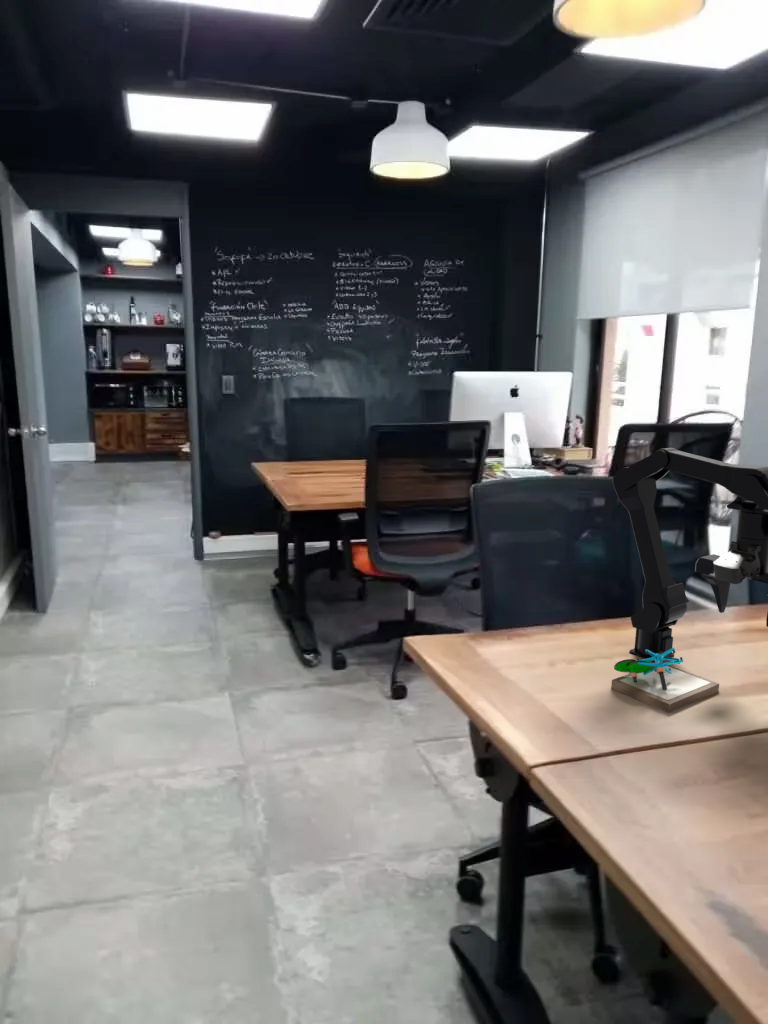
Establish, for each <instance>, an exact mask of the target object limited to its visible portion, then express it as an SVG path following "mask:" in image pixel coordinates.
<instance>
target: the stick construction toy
mask: <svg viewBox="0 0 768 1024" xmlns="http://www.w3.org/2000/svg"><path fill="white" fill-rule="evenodd" d="M671 652H672V653H674V654H675V653H676V649H675V647H672V648H671V649H670V650H668V651H666V652H664V653H663V652H662V651H661V652H660V653H661V654H660V655H659V653H656V654H654V653H653V652H651V651H649V650H648V649H646V654H647V655H648V654H650V655H651V656H652V657H651V658H647V659H645V658H643V659H639V658H638V659H633V658H629V659H622V660H620V661H618V662H616V663H615V664H614V666H613V669H614V670H615V671H617V672H620V673H628V674H630V673H631V675H632V678H633V681H634V682H637V673H642V672H643V674H644V675H646V674H648V673H650V672H652V671H654V670H655V672H657V674H659V676H660V680H661V685H662V689H663V691H666V690H667V686H666V682H665V677H664V673H665V671H666V672H668V673H669V674H671V673H672V672H671V669H670V668H669V669H667V668H666V667H665V666H668V665H671V666H673V665H676V664H678V665H680V664H681V663H684V659H683V656H681V657H679V658H678V657H675V658H674V657H670V658H669V657H664V656H666V655H667V654H669V653H671ZM654 660H655V662H653V661H654ZM663 661H668V662H663ZM662 662H663V663H662ZM651 666H653V667H652V668H651ZM650 668H651V669H650ZM645 671H646V672H645Z"/></svg>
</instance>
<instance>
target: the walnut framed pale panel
mask: <svg viewBox="0 0 768 1024" xmlns="http://www.w3.org/2000/svg"><path fill="white" fill-rule="evenodd" d="M662 663H664V662H662ZM652 667H653V666H651V668H652ZM665 667H666V668H667V669H669V668H670V669H671V672H672V673H671V674H669V673H668V672H666V671H665V673H664V677H665V682H666V686H667V690H666V691H663V689H662V685H661V680H660V676H659V674H657V672H655V670H654V671H652V672H650V673H648V674H646V675H644V674H643V672H642V673H637V682H634V681H633V678H632V675H631V673H628V674H624V675H621V676H619V677H616V678H614V679H613V678H612V679H611V686H610V687H611V689H612V690H615V691H617V692H619V693H622V694H624V695H627V696H629V697H631V698H632V699H636V700H638V701H640V702H642V703H644V704H647V705H649V706H652V707H654V708H657V709H659V710H662V711H664V712H666V713H668V714H669V713H670V714H671V713H672V712H674V711H677V710H679V709H680V708H683V707H685V706H688V705H691V704H692V703H695V702H697V701H700V700H701V699H704V698H707V697H708V696H711V695H713V694H716V693H717V692H719V688H720V683H718V682H715V681H713V680H710V679H708V678H705V677H702V676H700V675H697V674H695V673H692V672H689V671H687V670H684V669H682V668H679V667H677V666H673V665H668V666H665ZM651 668H650V669H651ZM645 672H646V671H645Z"/></svg>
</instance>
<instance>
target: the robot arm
mask: <svg viewBox="0 0 768 1024" xmlns="http://www.w3.org/2000/svg"><path fill="white" fill-rule="evenodd" d="M669 472H673V473H676V474H680V475H684V476H688V477H692V478H695V479H697V480H702V481H705V482H709V483H713V484H717V485H718V486H721V487H723V488H725V489H726V490H727V491H728V492H730V493H731V494H734V495H735V496H737V497H736V498H735V499H734V500H733V501H731V502H730V503H728V504H727V505H726V508H727V509H729V510H735V511H738V515H737V525H736V536H735V539H734V540H731V542H730V545H729V549H728V552H726V553H725V552H724V553H723V554H721V555H717V554H713V553H712V554H709V555H705V556H700V557H699V558H697V560H696V561H695V566H694V572H695V573H699V574H700V576H701V578H703V579H704V580H706V581H707V582H708V583H709V585H710V586H711V589H712V592H713V594H714V598H715V602H716V606H717V609H718V612H719V613H720V614H723V613H725V611H726V607H727V605H728V598H729V592H730V587H731V584H732V585H738V584H741V583H742V582H743V581H744V580H745V579H746V580H747V579H748V580H752V581H756V582H760V583H762V584H763V583H764V584H768V465H757V464H737V463H735V464H734V463H728V462H724V461H721V460H718V459H712V458H709V457H705V456H702V455H697V454H693V453H689V452H685V451H682V450H678V449H676V448H674V447H666V448H659V449H658V448H657V450H655V451H654V452H652V453H651V454H649V455H648V456H646V457H645V458H642V459H640V460H638V461H637V462H634V463H633V464H631V465H629V466H625V467H621V468H619V469H618V470H617V471H615V473H614V475H613V476H612V485H613V486H612V487H613V488H614V490H615V493H616V496H617V498H618V501H620V503H621V504H622V505H623V507H624V508H625V509H626V510H627V512H628V514H629V517H630V518H629V519H630V523H631V526H632V530H633V535H634V539H635V543H636V548H637V551H638V555H639V561H640V564H641V568H642V572H643V577H644V586H643V590H642V594H641V595H642V597H641V600H642V608H641V609H640V610H638V611H637V612H635V613H634V614H633V615H631V616H630V622H631V625H632V628H634V629H635V638H634V648H631V649H629V653H630V654H632V655H635V656H638V657H640V658H643V659H647V658H651V657H652V656H651V655H650V654H648V655H647V654H646V649H648V650H649V651H651V652H653V653H654V654H656V653H659V655H660V654H661V653H660V652H661V651H662V652H663V653H664V652H666V651H668V650H670V649H671V648H673V645H674V644H673V642H674V637H673V636H672V635H673V628H671V627H672V626H676V625H677V623H678V621H679V620H680V619H681V618H683V617H684V615H685V613H687V611H688V604H687V603H690V600H689V599H688V597H687V595H686V588H685V587H686V586H685V584H684V582H680V583H676V581H675V580H674V578H673V577H672V576H671V574H670V570H669V565H668V561H667V556H666V553H665V549H664V545H663V541H662V536H661V531H660V529H659V525H658V520H657V516H656V511H655V501H656V497H657V493H658V492H657V490H658V489H657V482H658V481H660V480H661V479H663V478H664V477H665V476H667V474H668V473H669ZM766 595H767V596H768V592H766ZM766 613H767V614H766V621H765V623H766V628H768V611H767V612H766ZM674 656H675V653H673V651H672V652H671V653H669V654H667V655H666V656H664V657H669V658H674ZM652 663H655V660H654V661H652Z"/></svg>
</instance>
